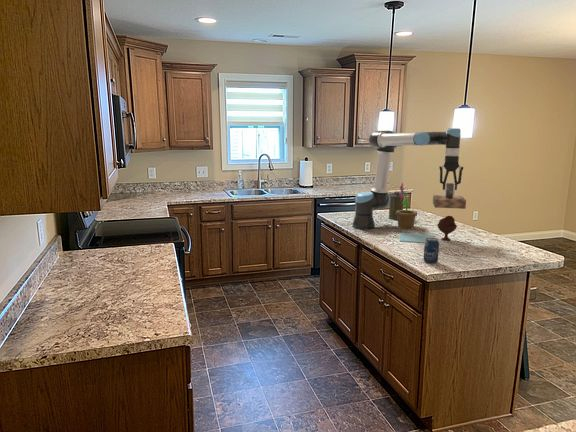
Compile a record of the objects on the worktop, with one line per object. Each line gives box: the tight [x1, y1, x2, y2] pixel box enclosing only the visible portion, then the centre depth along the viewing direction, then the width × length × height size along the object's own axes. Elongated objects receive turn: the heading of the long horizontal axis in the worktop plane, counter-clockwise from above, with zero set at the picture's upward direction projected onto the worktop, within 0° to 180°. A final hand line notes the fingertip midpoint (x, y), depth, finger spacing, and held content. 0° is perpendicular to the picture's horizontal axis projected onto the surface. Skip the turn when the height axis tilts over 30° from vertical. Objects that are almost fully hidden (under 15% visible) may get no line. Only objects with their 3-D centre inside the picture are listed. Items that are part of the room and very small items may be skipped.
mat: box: [399, 232, 435, 244], centre depth 264 cm, size 20×20×1 cm
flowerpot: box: [396, 182, 418, 229], centre depth 292 cm, size 14×14×30 cm
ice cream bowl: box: [436, 215, 458, 242], centre depth 259 cm, size 11×11×15 cm
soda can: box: [423, 237, 440, 265], centre depth 216 cm, size 7×7×12 cm
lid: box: [432, 182, 467, 210], centre depth 254 cm, size 17×17×13 cm
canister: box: [388, 191, 405, 221], centre depth 319 cm, size 11×10×20 cm
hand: (449, 195), depth 255 cm, fingers closed on lid, 4 cm apart
